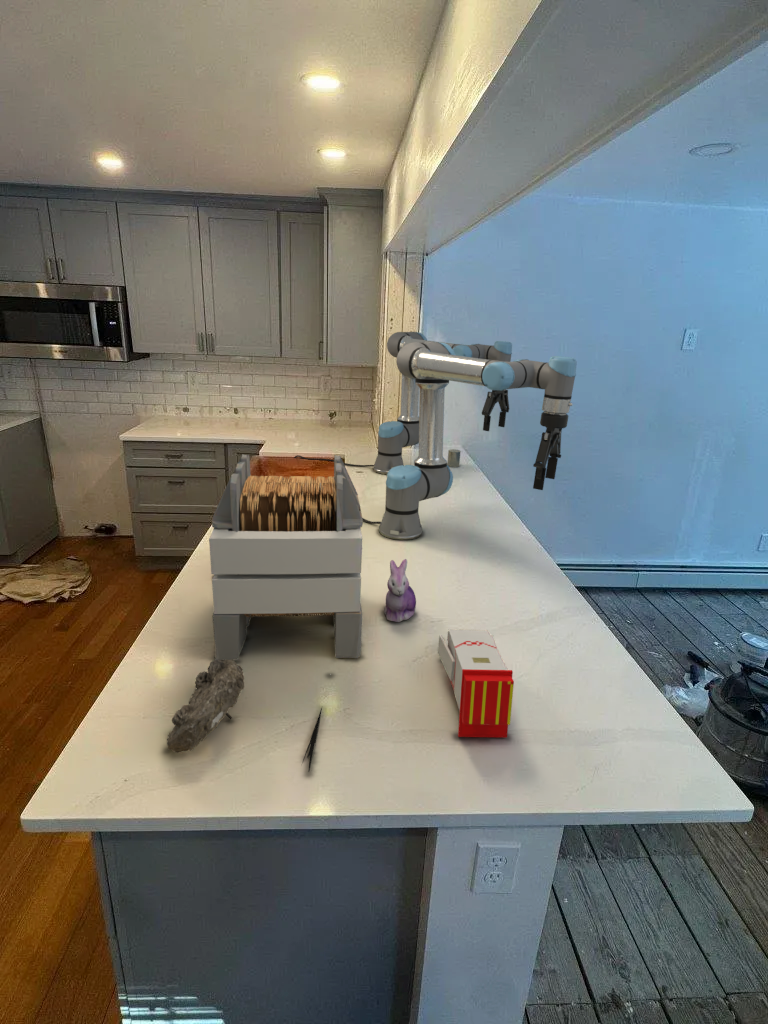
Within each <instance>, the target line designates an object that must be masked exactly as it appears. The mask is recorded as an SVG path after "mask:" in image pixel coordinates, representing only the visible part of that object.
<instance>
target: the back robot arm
mask: <svg viewBox="0 0 768 1024" xmlns="http://www.w3.org/2000/svg"><path fill="white" fill-rule="evenodd" d="M413 342H436V341H435V340H428V338H427V337H426V335H424V334H423V333H421V332H419V331H397V332H393V333H392V334H390V336H389V337H388V339H387V341H386V347H387V348H386V350H387V351H388V353H389V355H390V356H391V357H392V358H393V357H394V358H396V359H397V355H398V353H399V351H400V350H401V348H402V347H403V346H405V345H406V344H409V343H413ZM440 342H441V343H446V344H448V345H449V346H450V347H451V348H452V349H453V351H454V352H455V355H456V356H464V357H472V358H479V359H487V360H496V361H504V362H512V355H513V343H512V342H511V341H506V340H505V341H503V340H496V341H494V342H493V345H490V344H481V343H471V344H460V343H459V344H458V343H451V342H445V341H444V342H442V341H440ZM419 399H420V388H419V387H418V386H417V384H416V383H415V379H412V378H407V377H405V376H404V375H402V374H401V387H400V415H399V416H398V417H397V418H396V419H397V420H392V421H385V422H382V423H381V424H380V425H379V426H378V432H377V455H376V459H375V461H374V464H353V463H347V462H343V463H344V465H345V466H348V467H349V466H350V467H358V468H359V467H361V468H366V467H367V468H368V467H369V468H371V467H373V472H374V473H377V474H381V475H385V476H387V474H388V471H389V470H390V469H392V468H393V467H396V466H400V465H403V466H405V464H404V461H403V448H406V447H412V446H416V445H419ZM497 403H498V405H499V409H500V411H499V417H498V425H497V426H498V427H499V428H505V427H506V418H507V413H509V411H510V401H509V389H506V390H502V391H498V390H491V391H487V394H486V398H485V402H484V404H483V407H482V409H481V416H483V426H482V431H485V432H490V428H491V419H492V415H491V414H492V412H493V410H494V408H495V406H496V404H497ZM296 458H300V459H303V460H308V461H326V462H327V461H328V462H334V459H330V458H320V457H318V458H317V457H305V456H302V455H299V454H298V455H295V456H294V457H293V459H296Z"/></svg>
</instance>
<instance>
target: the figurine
mask: <svg viewBox="0 0 768 1024" xmlns="http://www.w3.org/2000/svg"><path fill="white" fill-rule="evenodd" d="M407 567H408V559H406V558H404V559H403V560H402V561H401V563H400V565H399V566H398V565H397V563H396V562H395V561H394V560H393V559H391V560H390V561H389V570H390V576H389V578H388V579H387V589H388V591H387V592H386V594H385V595H386V596H385V607H384V615H385V616H386V620H387V621H391V622H395V623H400V622H402V621H406V620H409V619H410V618H411V617H413V616H414V615H415V610H416V606H417V597H416V593H415V591H414V590H413V587H411V586H410V582H409V579H408V577H407V574H406V571H407Z"/></svg>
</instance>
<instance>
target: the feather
mask: <svg viewBox="0 0 768 1024" xmlns="http://www.w3.org/2000/svg"><path fill="white" fill-rule="evenodd" d="M329 675H330V676H331V675H332V674H331V673H330V674H329ZM322 710H323V707H321V708H320V710H319V713H318V716H317V719H316V723H315V725H314V728H313V731H312V733H311V737H310V739H309V742H308V745H307V748H306V751H305V754H304V757H303V760H302V763H301V767H302V765H303V763H304V761H305V758H308V759H309V760H308V762H307V763H308V764H307V766H308V771H310V770H311V766H312V765H311V764H312V760H313V757H315V756H314V755H315V751H316V749H315V746H317V739H318V733H319V729H320V722H321V717H322V712H323V711H322ZM313 754H314V755H313ZM306 755H307V757H306Z"/></svg>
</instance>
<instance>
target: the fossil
mask: <svg viewBox="0 0 768 1024" xmlns="http://www.w3.org/2000/svg"><path fill="white" fill-rule="evenodd" d="M243 670H244V669H243V667H242V665H240V664H237V662H236V660H232V659H231V660H228V659H227V660H221V661H217V660H215V659H212V660H211V661H210V663H209V665H208V666H207V671H201V672H199V673H198V674H197V675H196V676H195V680H194V684H195V685H194V687H195V689H194V690H193V693H192V694H191V697H190V698H189V700H188V704H184V705H182V706H181V707H180V709H177V710H176V711H175V713H174V715H173V716H172V718H171V723H172V724H173V727H172V730H171V731H170V732H168V734H167V738H166V741H167V742H166V745H167V749H168V750H169V751H173V752H174V753H176V754H178V753H182V752H188V751H189V752H192V751H193V750H195V748H196V747H197V746H199V744H200V743H201V742H203V741H204V740H205V739H206V738H207V737H208V736H209V735H210V734H211V733H212V732H214V730H215V729H217V727H218V726H219V724H220V722H221V721H222V720H223V719H224V718H225V716H226V717H227V719H229V720H233V717H232V715H230V714H229V710H230V709H231V708H234V706H235V704H236V703H237V702H238V699H239V697H240V695H241V693H242V691H243V690H245V689H244V688H245V675H244V671H243Z"/></svg>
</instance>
